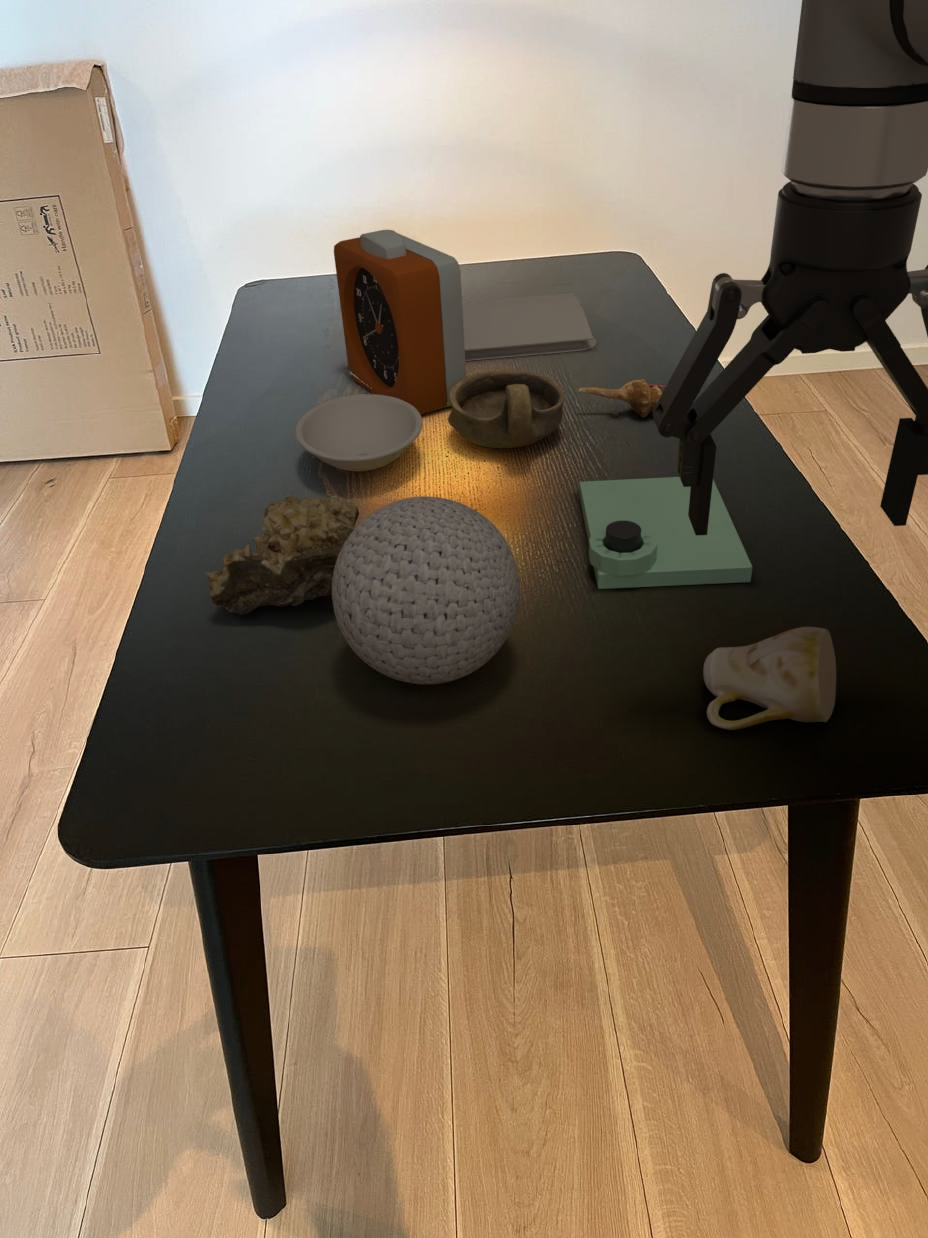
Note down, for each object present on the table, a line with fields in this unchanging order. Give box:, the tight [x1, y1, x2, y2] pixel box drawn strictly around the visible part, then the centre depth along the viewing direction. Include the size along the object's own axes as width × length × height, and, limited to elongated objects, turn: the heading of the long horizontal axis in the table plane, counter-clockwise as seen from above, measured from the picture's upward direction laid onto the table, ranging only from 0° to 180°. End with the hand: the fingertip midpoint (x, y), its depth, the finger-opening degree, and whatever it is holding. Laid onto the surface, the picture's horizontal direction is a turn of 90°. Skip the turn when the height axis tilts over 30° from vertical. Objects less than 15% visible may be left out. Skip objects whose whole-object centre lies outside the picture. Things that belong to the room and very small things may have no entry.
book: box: [462, 292, 597, 362], centre depth 143 cm, size 15×23×4 cm, turn 96°
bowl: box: [447, 369, 565, 449], centre depth 112 cm, size 14×18×10 cm
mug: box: [702, 626, 837, 731], centre depth 74 cm, size 8×10×10 cm
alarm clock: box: [333, 229, 467, 416], centre depth 124 cm, size 18×9×21 cm, turn 31°
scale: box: [578, 476, 753, 590], centre depth 96 cm, size 18×15×4 cm
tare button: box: [605, 521, 641, 553], centre depth 90 cm, size 3×3×2 cm
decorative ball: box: [331, 496, 521, 685], centre depth 78 cm, size 15×15×15 cm
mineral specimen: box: [204, 495, 360, 616], centre depth 90 cm, size 14×13×10 cm
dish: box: [295, 393, 424, 472], centre depth 112 cm, size 18×14×5 cm
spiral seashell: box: [578, 378, 666, 418], centre depth 119 cm, size 14×5×4 cm, turn 101°
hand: (794, 520), depth 66 cm, fingers open, 12 cm apart
